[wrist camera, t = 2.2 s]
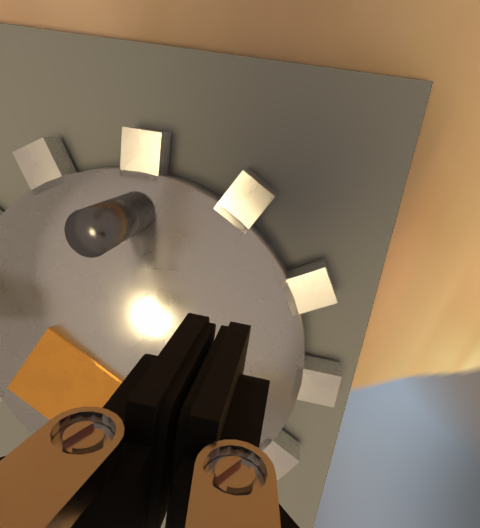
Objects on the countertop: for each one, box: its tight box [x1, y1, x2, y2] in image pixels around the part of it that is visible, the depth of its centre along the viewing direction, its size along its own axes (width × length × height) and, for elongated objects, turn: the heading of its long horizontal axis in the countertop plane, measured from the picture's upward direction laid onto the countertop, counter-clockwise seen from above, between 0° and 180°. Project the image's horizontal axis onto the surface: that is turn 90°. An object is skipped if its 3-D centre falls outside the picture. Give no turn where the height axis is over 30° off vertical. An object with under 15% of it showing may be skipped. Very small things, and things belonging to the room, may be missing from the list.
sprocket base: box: [0, 23, 433, 528], centre depth 25 cm, size 32×26×3 cm
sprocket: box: [0, 127, 342, 480], centre depth 22 cm, size 24×24×6 cm
